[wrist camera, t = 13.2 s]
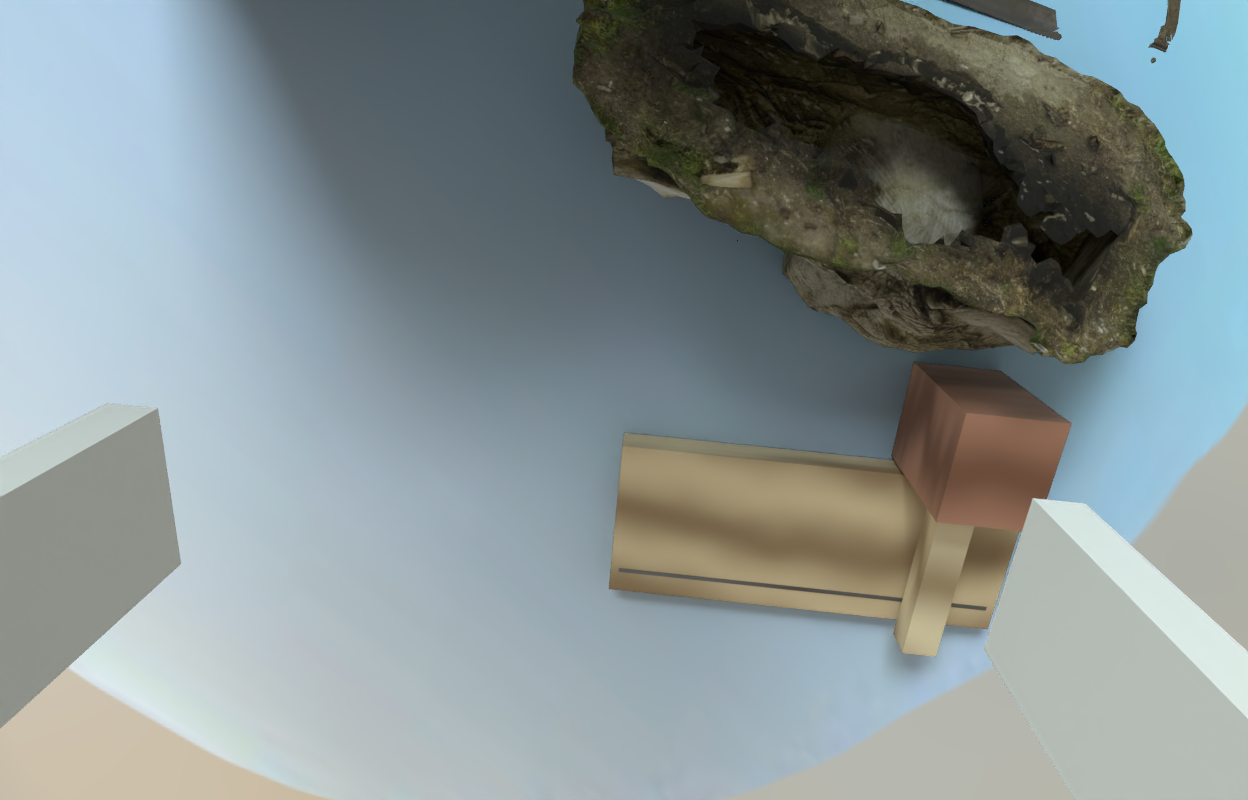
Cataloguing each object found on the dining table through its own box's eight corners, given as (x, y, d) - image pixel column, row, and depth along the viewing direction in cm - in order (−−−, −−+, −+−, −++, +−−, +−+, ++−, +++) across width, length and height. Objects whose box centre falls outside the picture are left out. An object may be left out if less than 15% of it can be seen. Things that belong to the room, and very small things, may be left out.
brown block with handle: (913, 362, 43) (966, 412, 35) (1000, 370, 43) (1071, 423, 35) (856, 599, 49) (891, 686, 41) (932, 607, 48) (981, 696, 41)
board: (624, 432, 45) (622, 446, 43) (1017, 472, 45) (1033, 488, 43) (611, 570, 49) (608, 589, 47) (975, 609, 48) (988, 629, 46)
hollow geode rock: (601, 59, 42) (481, 250, 36) (676, -176, 31) (519, 39, 24) (1013, 287, 45) (972, 505, 38) (1222, 147, 33) (1217, 423, 27)
